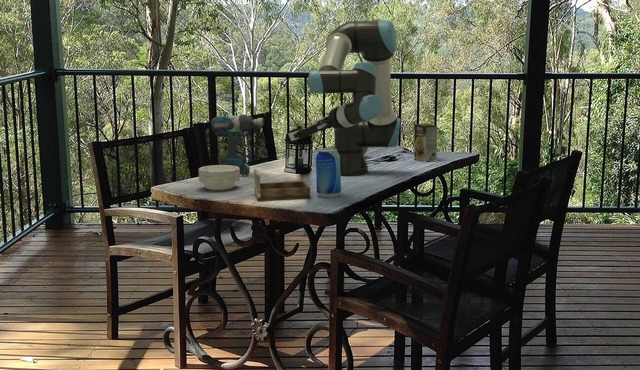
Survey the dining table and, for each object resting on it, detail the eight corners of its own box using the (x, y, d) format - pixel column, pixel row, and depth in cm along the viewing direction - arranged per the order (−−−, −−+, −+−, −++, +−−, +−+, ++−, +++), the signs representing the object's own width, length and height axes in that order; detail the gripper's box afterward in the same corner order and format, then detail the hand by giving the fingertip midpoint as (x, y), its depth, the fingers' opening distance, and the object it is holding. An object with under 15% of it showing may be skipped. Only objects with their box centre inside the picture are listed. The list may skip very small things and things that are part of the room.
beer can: (345, 194, 275) (344, 149, 272) (332, 198, 268) (331, 152, 265) (325, 192, 279) (324, 147, 276) (312, 196, 272) (310, 150, 269)
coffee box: (413, 160, 352) (413, 124, 349) (425, 158, 355) (425, 123, 352) (425, 162, 344) (425, 125, 341) (437, 161, 347) (437, 124, 344)
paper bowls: (247, 188, 291) (246, 167, 290) (209, 193, 283) (208, 172, 282) (229, 183, 304) (228, 163, 302) (193, 188, 296) (191, 167, 294)
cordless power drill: (264, 177, 316) (261, 115, 312) (211, 176, 320) (207, 115, 316) (269, 174, 324) (267, 113, 319) (217, 173, 328) (214, 113, 324)
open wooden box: (304, 191, 283) (304, 166, 282) (310, 198, 269) (309, 172, 268) (254, 193, 281) (253, 168, 279) (257, 201, 267) (256, 174, 265)
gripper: (362, 94, 269) (322, 109, 285) (314, 118, 253) (274, 132, 269) (370, 114, 271) (330, 128, 286) (323, 140, 254) (283, 152, 270)
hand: (303, 130), depth 278 cm, fingers open, 13 cm apart
